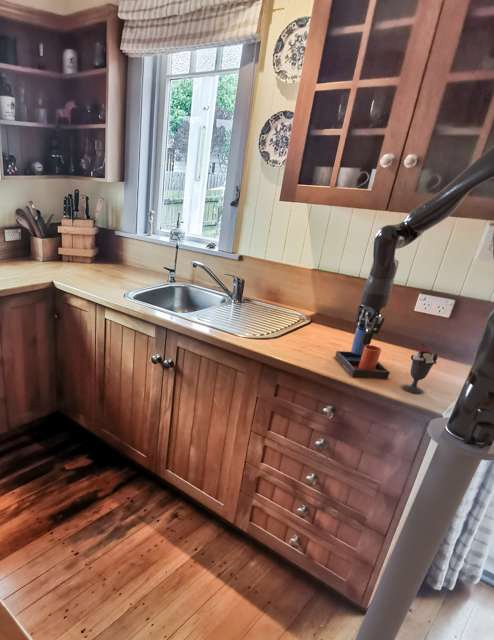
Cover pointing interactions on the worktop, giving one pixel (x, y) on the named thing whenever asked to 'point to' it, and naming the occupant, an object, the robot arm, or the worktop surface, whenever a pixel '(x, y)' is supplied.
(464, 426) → the robot arm
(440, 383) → the worktop surface
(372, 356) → the terracotta cup
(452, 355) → the worktop surface
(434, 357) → the sundae
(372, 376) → the tray
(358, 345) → the blue cup
